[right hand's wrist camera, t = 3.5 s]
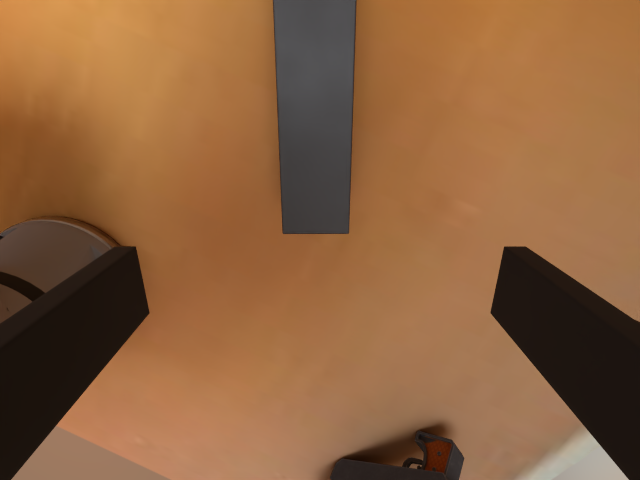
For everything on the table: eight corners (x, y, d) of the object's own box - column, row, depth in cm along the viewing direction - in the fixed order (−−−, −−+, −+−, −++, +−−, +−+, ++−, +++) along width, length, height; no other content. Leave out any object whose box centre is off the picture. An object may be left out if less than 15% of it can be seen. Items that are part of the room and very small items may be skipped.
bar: (341, 203, 35) (348, 234, 26) (291, 203, 35) (282, 234, 26) (348, -110, 26) (363, -214, 17) (281, -110, 26) (263, -215, 17)
